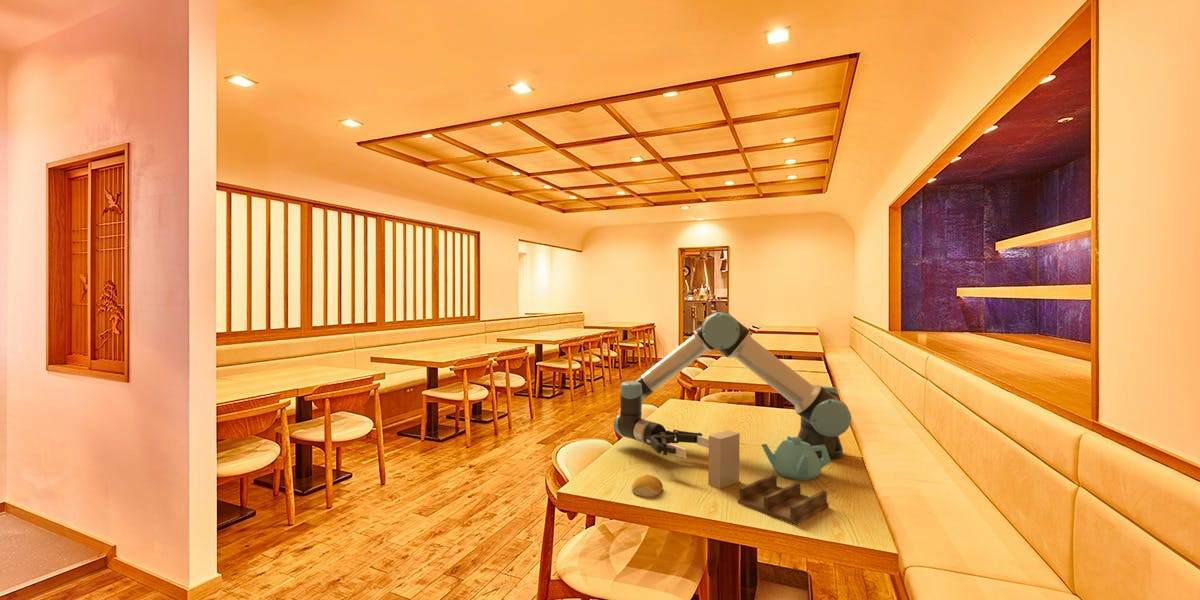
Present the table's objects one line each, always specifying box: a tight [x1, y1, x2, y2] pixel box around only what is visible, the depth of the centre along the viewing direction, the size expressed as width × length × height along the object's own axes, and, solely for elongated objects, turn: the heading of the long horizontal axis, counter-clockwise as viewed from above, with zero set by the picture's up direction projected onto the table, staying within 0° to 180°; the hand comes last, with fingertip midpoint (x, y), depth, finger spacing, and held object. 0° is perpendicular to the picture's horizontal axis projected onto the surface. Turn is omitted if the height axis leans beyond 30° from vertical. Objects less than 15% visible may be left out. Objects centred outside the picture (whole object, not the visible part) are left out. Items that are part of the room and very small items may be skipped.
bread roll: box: [631, 474, 664, 498], centre depth 132 cm, size 8×9×4 cm
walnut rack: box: [737, 473, 829, 526], centre depth 124 cm, size 16×16×4 cm
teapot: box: [761, 435, 832, 481], centre depth 146 cm, size 15×15×11 cm
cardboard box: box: [707, 430, 740, 490], centre depth 138 cm, size 9×4×14 cm, turn 129°
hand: (700, 449), depth 145 cm, fingers open, 13 cm apart
